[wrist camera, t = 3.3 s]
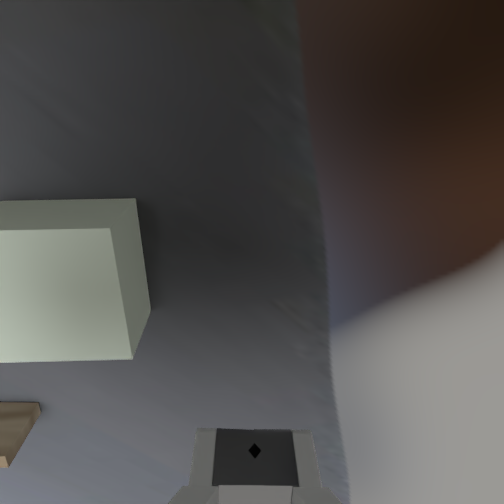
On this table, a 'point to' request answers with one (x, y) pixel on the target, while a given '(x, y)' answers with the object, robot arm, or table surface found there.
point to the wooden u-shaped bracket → (15, 427)
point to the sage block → (71, 280)
